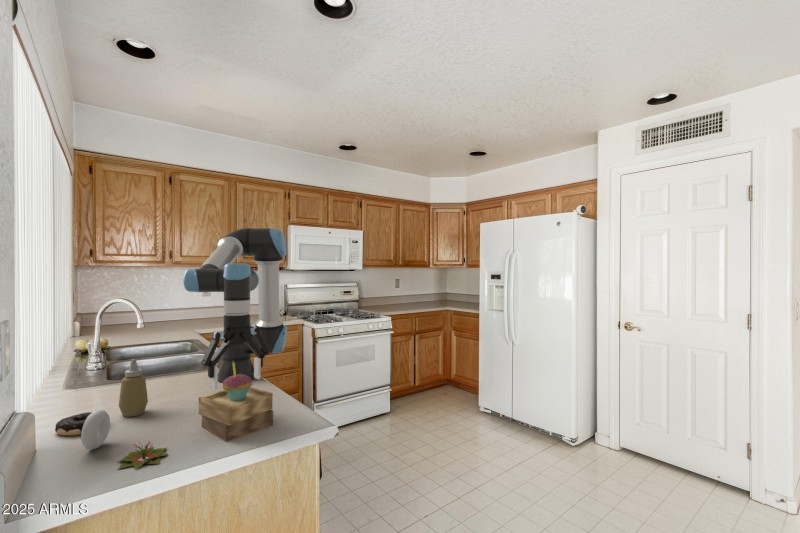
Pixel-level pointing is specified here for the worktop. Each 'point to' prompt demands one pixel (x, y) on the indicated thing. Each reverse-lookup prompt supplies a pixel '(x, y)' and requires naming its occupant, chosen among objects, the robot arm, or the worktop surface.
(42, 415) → the worktop surface
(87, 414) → the donut
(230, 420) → the tower top
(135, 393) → the squeeze bottle
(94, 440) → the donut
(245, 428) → the tower base
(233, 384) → the cupcake
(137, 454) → the lily flower
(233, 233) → the robot arm
